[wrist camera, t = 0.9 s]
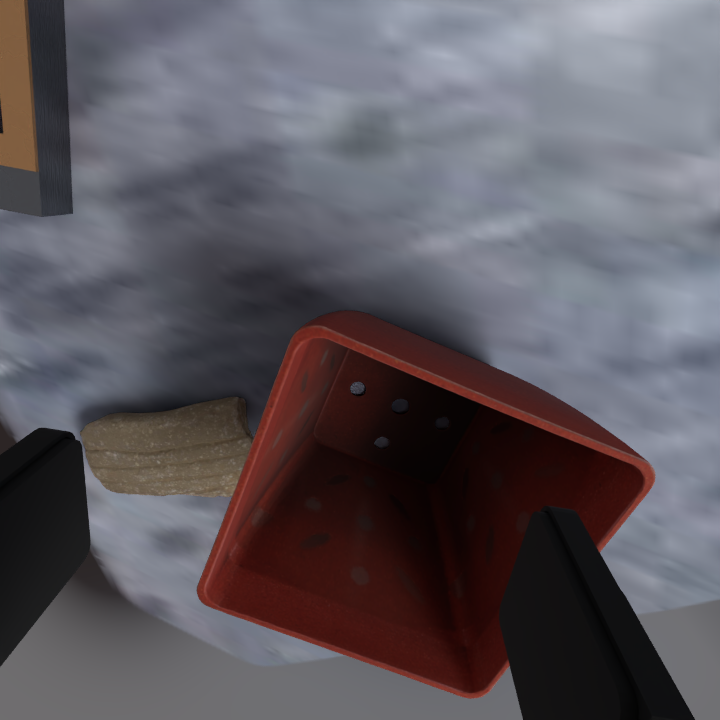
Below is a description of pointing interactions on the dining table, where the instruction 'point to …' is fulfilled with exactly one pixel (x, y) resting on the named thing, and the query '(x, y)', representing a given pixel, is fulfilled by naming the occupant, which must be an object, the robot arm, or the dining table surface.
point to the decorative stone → (171, 449)
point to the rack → (34, 109)
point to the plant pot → (404, 500)
